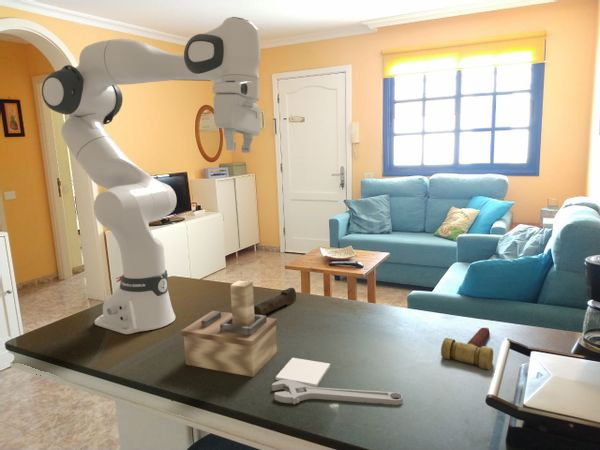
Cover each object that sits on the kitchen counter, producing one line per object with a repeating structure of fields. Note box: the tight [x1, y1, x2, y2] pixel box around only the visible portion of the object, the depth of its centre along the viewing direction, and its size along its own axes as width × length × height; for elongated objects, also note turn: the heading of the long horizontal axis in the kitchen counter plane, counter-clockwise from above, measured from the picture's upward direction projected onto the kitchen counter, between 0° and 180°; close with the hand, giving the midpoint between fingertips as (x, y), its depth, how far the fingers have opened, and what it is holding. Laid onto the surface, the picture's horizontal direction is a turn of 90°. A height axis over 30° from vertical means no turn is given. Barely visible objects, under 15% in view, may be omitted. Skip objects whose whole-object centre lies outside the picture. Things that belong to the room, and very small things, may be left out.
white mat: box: [275, 357, 331, 387], centre depth 94 cm, size 9×9×1 cm
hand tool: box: [254, 287, 297, 316], centre depth 132 cm, size 19×4×5 cm, turn 140°
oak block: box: [229, 280, 255, 327], centre depth 98 cm, size 4×4×10 cm
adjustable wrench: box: [271, 380, 404, 406], centre depth 84 cm, size 25×6×2 cm, turn 76°
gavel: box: [440, 327, 494, 370], centre depth 104 cm, size 21×5×10 cm
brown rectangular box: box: [180, 310, 278, 377], centre depth 101 cm, size 18×13×10 cm
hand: (238, 151), depth 105 cm, fingers open, 8 cm apart
